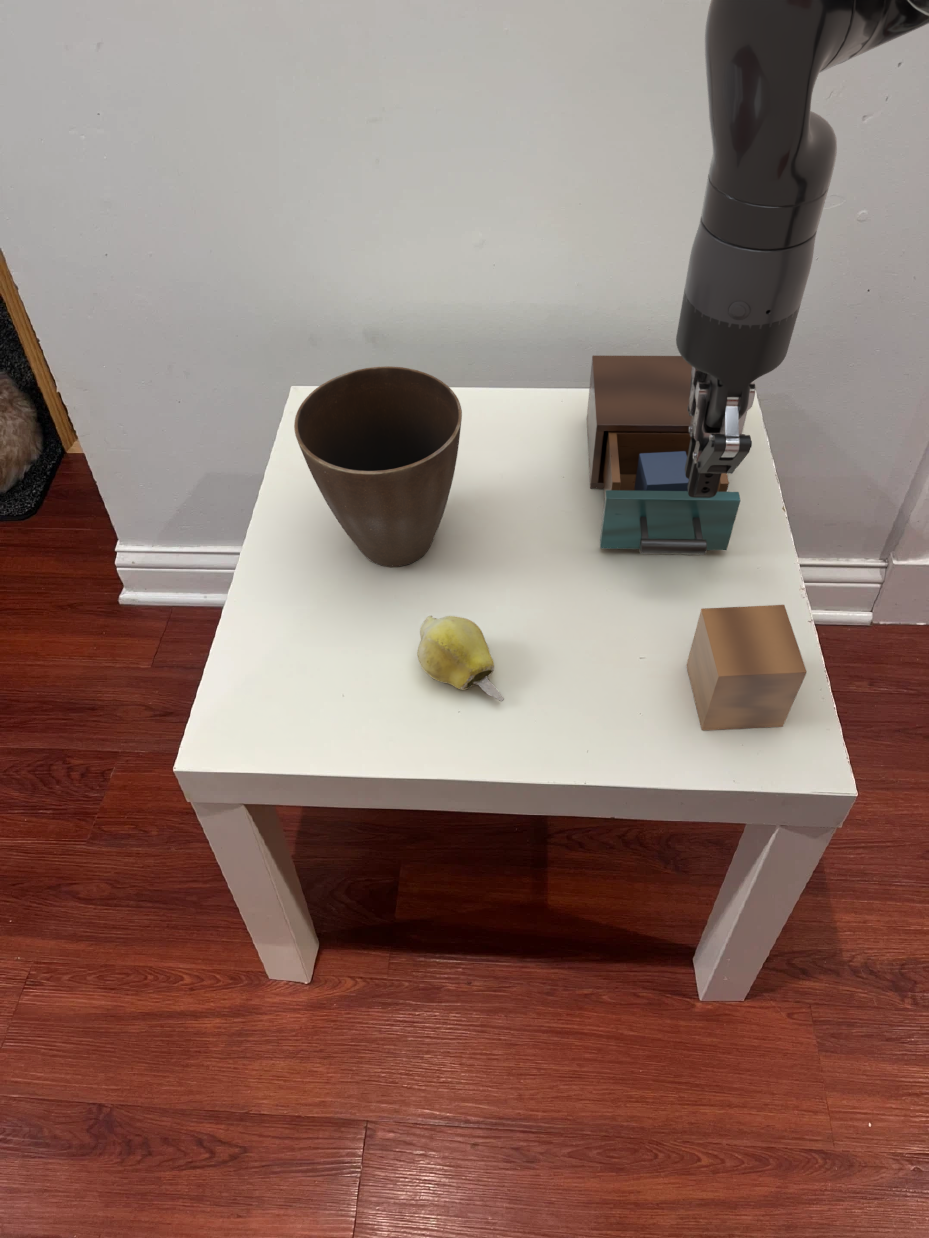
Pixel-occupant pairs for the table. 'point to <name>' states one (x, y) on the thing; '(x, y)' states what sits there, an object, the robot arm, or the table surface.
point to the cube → (744, 667)
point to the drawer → (660, 502)
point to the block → (661, 472)
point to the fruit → (456, 653)
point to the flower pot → (383, 456)
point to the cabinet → (634, 401)
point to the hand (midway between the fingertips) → (699, 484)
